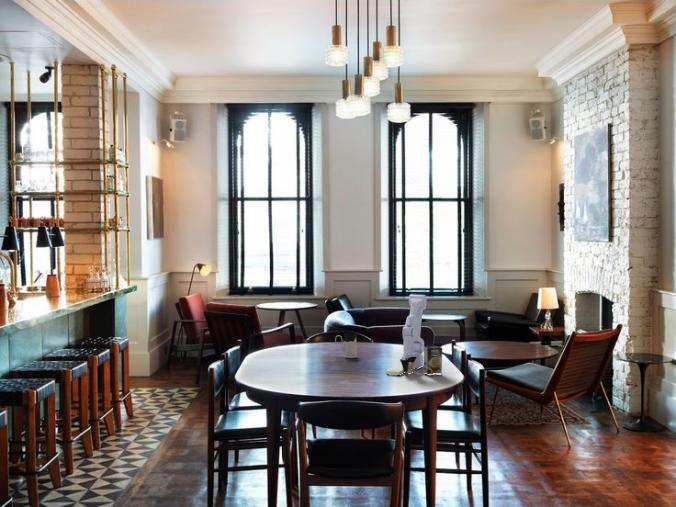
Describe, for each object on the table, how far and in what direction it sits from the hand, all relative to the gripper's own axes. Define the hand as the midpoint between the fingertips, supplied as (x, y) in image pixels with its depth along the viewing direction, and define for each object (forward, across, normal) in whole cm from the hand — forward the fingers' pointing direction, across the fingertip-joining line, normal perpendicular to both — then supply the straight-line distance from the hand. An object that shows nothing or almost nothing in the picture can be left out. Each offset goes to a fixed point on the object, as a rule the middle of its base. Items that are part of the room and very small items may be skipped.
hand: (408, 370), depth 387 cm
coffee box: (+2, +4, -14) cm, 14 cm away
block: (+2, 0, 0) cm, 2 cm away
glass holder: (+2, +24, +54) cm, 59 cm away
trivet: (+2, -6, +6) cm, 8 cm away
